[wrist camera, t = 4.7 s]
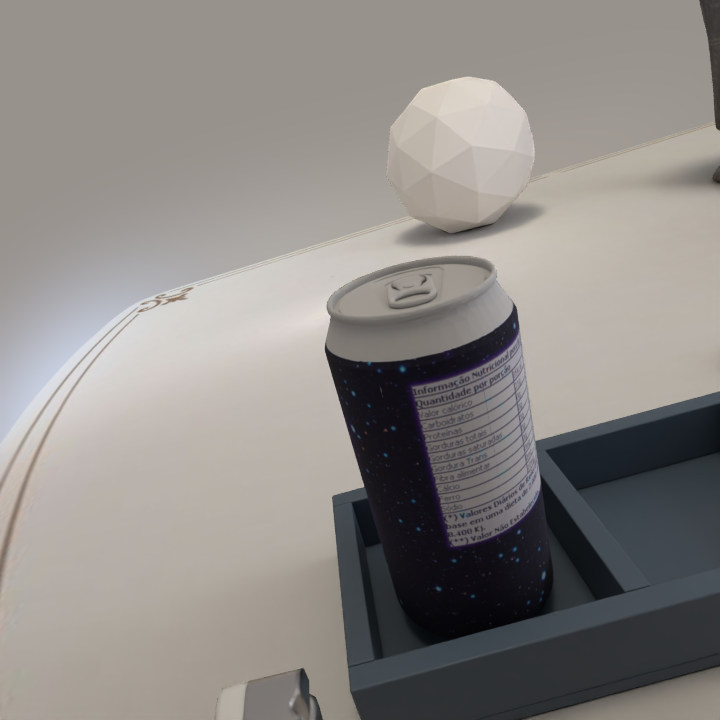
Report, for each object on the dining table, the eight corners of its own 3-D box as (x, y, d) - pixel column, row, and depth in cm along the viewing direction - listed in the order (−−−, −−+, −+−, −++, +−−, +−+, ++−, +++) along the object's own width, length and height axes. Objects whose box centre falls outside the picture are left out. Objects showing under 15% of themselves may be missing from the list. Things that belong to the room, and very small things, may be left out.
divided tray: (939, 606, 16) (957, 528, 15) (374, 758, 16) (350, 692, 15) (723, 447, 25) (724, 389, 24) (349, 548, 25) (331, 495, 24)
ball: (514, 263, 80) (597, 129, 67) (400, 257, 70) (472, 98, 57) (450, 194, 91) (511, 68, 79) (344, 180, 81) (394, 33, 69)
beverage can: (531, 525, 23) (488, 239, 18) (579, 645, 18) (535, 288, 13) (396, 548, 23) (320, 278, 19) (403, 672, 18) (302, 340, 14)
